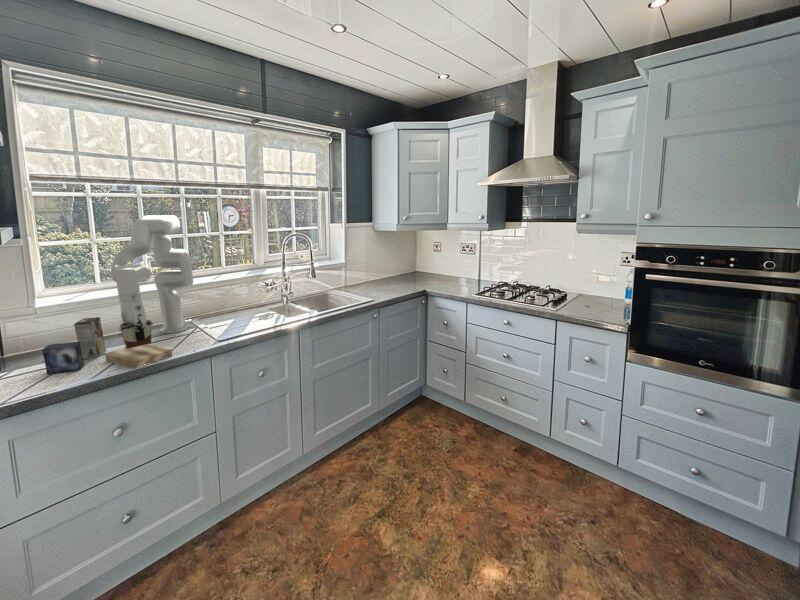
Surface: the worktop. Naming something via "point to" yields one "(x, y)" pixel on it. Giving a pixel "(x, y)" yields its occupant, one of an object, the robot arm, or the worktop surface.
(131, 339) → the food container
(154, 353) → the oak base
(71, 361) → the small box
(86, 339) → the coffee box
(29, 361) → the worktop surface
